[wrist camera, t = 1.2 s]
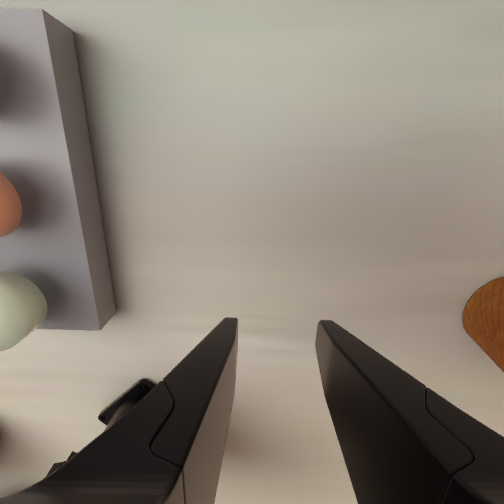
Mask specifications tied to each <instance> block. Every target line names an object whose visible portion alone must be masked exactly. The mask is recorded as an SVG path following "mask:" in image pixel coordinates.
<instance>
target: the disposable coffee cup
mask: <svg viewBox="0 0 504 504" xmlns="http://www.w3.org/2000/svg"><path fill="white" fill-rule="evenodd" d="M463 326H464V329H465V330H466V332H467V333H468V335H469V336H470V337H471V338H472V339H473V340H474V341H475V342H476V343H477V344H478V345H479V346H480V347H481V348H482V349H483V350H484V352H485V353H486V354H487V355H488V356H489V357H490V358H491V359H492V360H493V361H494V362H495V363H496V365H497V366H498V367H499V368H500V369H501V370H502V371H503V372H504V277H501V278H498V279H496V280H493V281H491V282H489V283H487V284H485V285H484V286H483V287H481V288H480V289H479V290H478V291H477V292H476V293H475V294H474V295H473V296H472V297H471V298H470V299H469V301H468V303H467V305H466V307H465V309H464V312H463Z"/></svg>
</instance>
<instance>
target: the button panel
mask: <svg viewBox="0 0 504 504" xmlns="http://www.w3.org/2000/svg"><path fill="white" fill-rule="evenodd" d="M0 172H1V173H2V174H3V175H4V176H5V177H7V179H8V180H9V181H10V182H11V183H12V185H13V186H14V188H15V189H16V191H17V193H18V195H19V198H20V201H21V206H22V217H21V221H20V223H19V225H18V227H17V228H16V229H15V230H14V231H13V232H12V233H11V234H9V235H7V236H4V237H1V238H0V271H9V272H14V273H17V274H20V275H22V276H24V277H26V278H27V279H29V280H30V281H32V282H33V283H34V284H35V285H36V286H37V287H38V288H39V289H40V291H41V292H42V293H43V295H44V297H45V299H46V302H47V316H46V318H45V320H44V322H43V323H42V324H41V325H40V326H39V327H37V328H36V329H66V330H101V329H102V328H103V327H104V326H105V324H106V323H107V322H108V321H109V320H110V319H111V318H112V316H113V315H114V314H115V313H116V307H115V300H114V294H113V287H112V281H111V274H110V268H109V261H108V255H107V248H106V242H105V235H104V229H103V222H102V216H101V209H100V203H99V196H98V190H97V183H96V177H95V170H94V164H93V157H92V151H91V144H90V138H89V131H88V125H87V118H86V112H85V105H84V99H83V92H82V86H81V79H80V73H79V66H78V60H77V53H76V47H75V41H74V34H73V30H71V29H70V28H68V27H67V26H65V25H64V24H63V23H61V22H60V21H58V20H57V19H55V18H54V17H53V16H51V15H50V14H48V13H47V12H46V11H44V10H43V9H26V8H0Z"/></svg>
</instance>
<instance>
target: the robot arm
mask: <svg viewBox="0 0 504 504" xmlns="http://www.w3.org/2000/svg"><path fill="white" fill-rule="evenodd" d="M315 345H316V353H317V358H318V364H319V369H320V374H321V380H322V385H323V390H324V395H325V398H326V402H327V405H328V408H329V411H330V415H331V418H332V421H333V424H334V428H335V431H336V434H337V437H338V440H339V444H340V447H341V450H342V453H343V457H344V460H345V463H346V466H347V470H348V473H349V476H350V479H351V482H352V486H353V489H354V492H355V495H356V499H357V502H358V504H504V437H503V436H501V435H500V434H498V433H497V432H495V431H493V430H492V429H490V428H488V427H487V426H485V425H484V424H482V423H481V422H479V421H477V420H476V419H474V418H473V417H471V416H469V415H468V414H466V413H465V412H463V411H462V410H460V409H459V408H457V407H456V406H454V405H453V404H451V403H450V402H448V401H447V400H445V399H444V398H442V397H441V396H440V395H438V394H437V393H435V392H434V391H432V390H431V389H430V388H426V386H425V385H424V384H422V383H421V382H419V381H418V380H417V379H415V378H414V377H412V376H411V375H409V374H408V373H407V372H405V371H404V370H402V369H401V368H399V367H398V366H397V365H395V364H394V363H392V362H391V361H389V360H388V359H386V358H385V357H384V356H382V355H381V354H379V353H378V352H376V351H375V350H374V349H372V348H371V347H369V346H368V345H366V344H365V343H364V342H362V341H361V340H359V339H358V338H356V337H355V336H353V335H352V334H351V333H349V332H348V331H346V330H345V329H343V328H342V327H341V326H339V325H338V324H336V323H335V322H333V321H331V320H320V321H319V322H318V327H317V335H316V343H315ZM237 347H238V319H237V318H224V319H223V320H222V321H221V322H220V323H219V324H218V325H217V326H216V327H215V328H214V329H213V330H212V331H211V332H210V333H209V334H208V335H207V336H206V337H205V338H204V339H203V340H202V341H201V342H200V343H199V344H198V345H197V346H196V347H195V348H194V349H193V350H192V351H191V352H190V353H189V354H188V355H187V356H186V357H185V358H184V359H183V360H182V361H181V362H180V363H179V364H178V365H177V366H176V367H175V368H174V369H173V370H172V371H171V372H170V373H169V374H168V375H167V376H166V377H165V378H164V379H163V381H160V382H159V383H158V384H157V385H156V386H153V385H152V384H151V383H150V382H148V381H147V380H144V379H142V380H139V381H138V382H137V383H136V384H134V385H133V386H132V387H131V388H130V389H128V390H127V391H126V392H125V393H123V394H122V395H121V396H120V397H119V398H117V399H116V400H115V401H114V402H112V403H111V404H110V405H109V406H108V407H106V408H105V409H104V410H103V411H101V413H100V414H99V416H98V419H99V420H100V421H101V422H103V423H104V424H106V425H107V427H106V429H105V431H104V432H103V433H102V434H100V435H99V436H98V437H97V438H95V439H94V440H93V441H92V442H91V443H89V444H88V445H87V446H86V447H84V448H83V449H82V450H81V451H80V452H78V453H76V452H73V451H72V453H71V455H70V456H69V458H68V459H67V461H64V462H60V463H54V465H53V466H52V468H51V469H50V471H49V473H48V474H47V476H46V477H45V478H44V479H43V480H41V481H39V482H38V483H36V484H34V485H32V486H31V487H28V488H26V489H24V490H22V491H20V492H17V493H15V494H12V495H9V496H6V497H3V498H0V504H214V502H215V496H216V491H217V485H218V480H219V475H220V469H221V464H222V458H223V453H224V448H225V442H226V437H227V431H228V426H229V421H230V415H231V410H232V404H233V399H234V392H235V381H236V364H237ZM142 385H143V386H142Z"/></svg>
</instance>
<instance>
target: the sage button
mask: <svg viewBox="0 0 504 504" xmlns="http://www.w3.org/2000/svg"><path fill="white" fill-rule="evenodd" d="M46 316H47V302H46V299H45V297H44V295H43V293H42V292H41V291H40V289H39V288H38V287H37V286H36V285H35V284H34V283H33V282H32V281H30V280H29V279H27V278H26V277H24V276H22V275H20V274H17V273H14V272H9V271H0V351H2V350H6V349H9V348H11V347H13V346H15V345H16V344H17V343H18V342H20V341H21V340H22V339H23V338H25V337H26V336H27V335H29V334H30V333H31V332H32V331H34V330H35V329H36V328H37V327H39V326H40V325H41V324H42V323H43V322H44V320H45V318H46Z"/></svg>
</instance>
